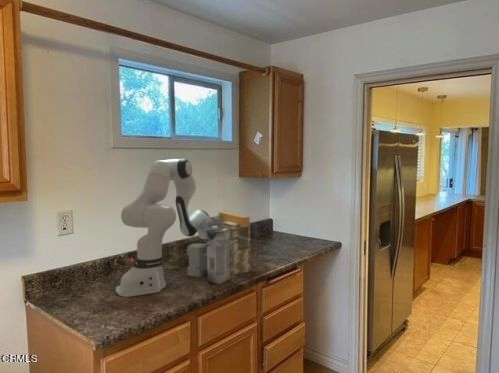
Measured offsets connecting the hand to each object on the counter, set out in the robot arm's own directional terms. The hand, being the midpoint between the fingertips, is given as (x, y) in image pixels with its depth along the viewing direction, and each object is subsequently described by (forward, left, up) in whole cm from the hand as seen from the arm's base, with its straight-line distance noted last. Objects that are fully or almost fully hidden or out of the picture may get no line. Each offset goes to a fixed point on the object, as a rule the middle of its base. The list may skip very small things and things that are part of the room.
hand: (225, 215), depth 207 cm
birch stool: (0, -10, -29) cm, 30 cm away
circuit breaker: (-17, -5, -29) cm, 34 cm away
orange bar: (0, -8, -3) cm, 9 cm away
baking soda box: (+20, +23, -29) cm, 42 cm away
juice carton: (-16, -19, -29) cm, 38 cm away
